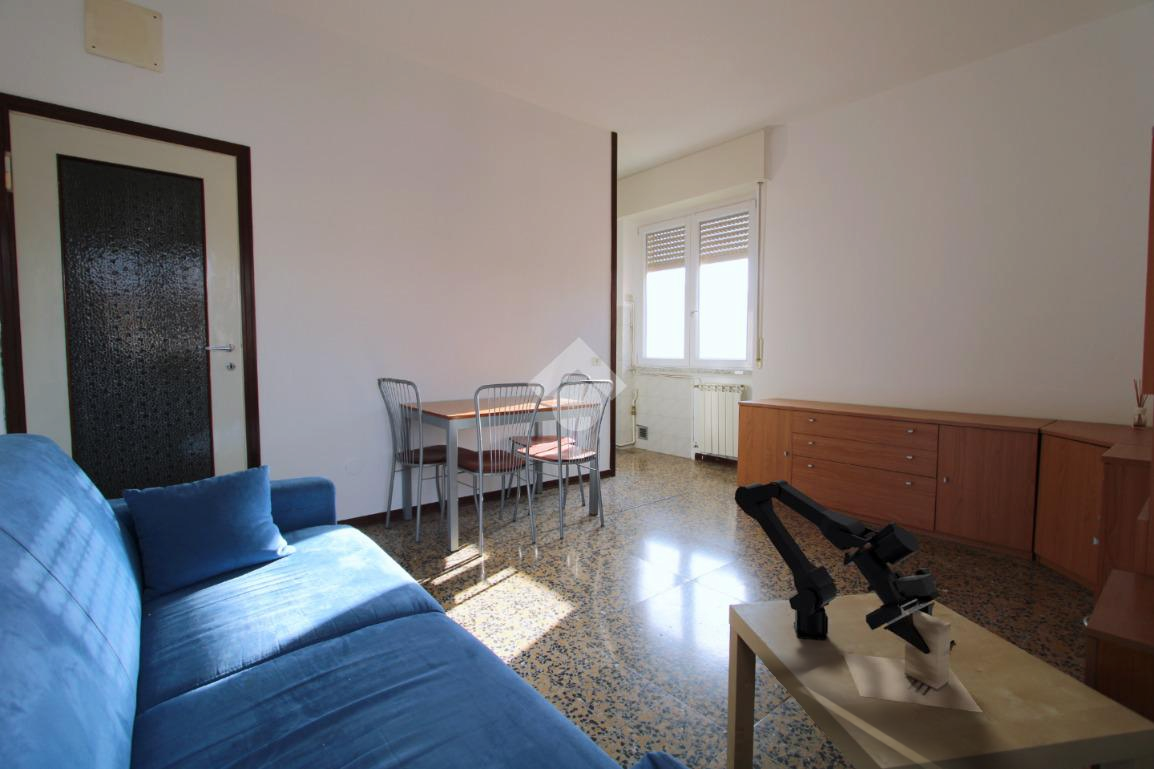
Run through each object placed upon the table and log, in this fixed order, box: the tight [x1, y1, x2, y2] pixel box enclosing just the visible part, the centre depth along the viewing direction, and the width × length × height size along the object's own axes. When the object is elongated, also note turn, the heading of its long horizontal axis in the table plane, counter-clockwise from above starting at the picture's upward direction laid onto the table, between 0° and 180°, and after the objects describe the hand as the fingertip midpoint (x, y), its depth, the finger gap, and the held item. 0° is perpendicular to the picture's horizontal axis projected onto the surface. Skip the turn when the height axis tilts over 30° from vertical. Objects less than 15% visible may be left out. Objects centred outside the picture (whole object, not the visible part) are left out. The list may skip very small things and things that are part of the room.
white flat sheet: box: [842, 652, 984, 713], centre depth 105 cm, size 20×15×1 cm
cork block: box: [904, 611, 952, 690], centre depth 105 cm, size 6×4×12 cm
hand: (934, 649), depth 104 cm, fingers closed on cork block, 4 cm apart
